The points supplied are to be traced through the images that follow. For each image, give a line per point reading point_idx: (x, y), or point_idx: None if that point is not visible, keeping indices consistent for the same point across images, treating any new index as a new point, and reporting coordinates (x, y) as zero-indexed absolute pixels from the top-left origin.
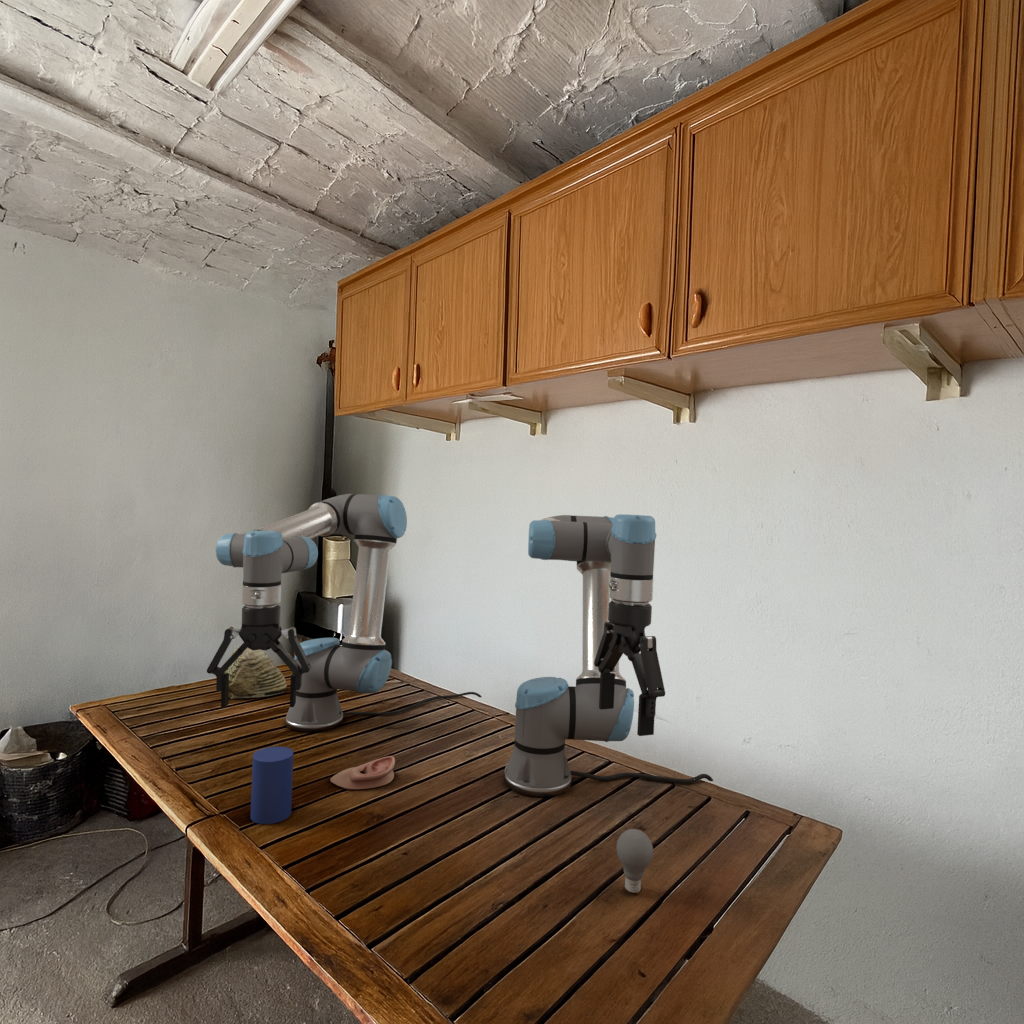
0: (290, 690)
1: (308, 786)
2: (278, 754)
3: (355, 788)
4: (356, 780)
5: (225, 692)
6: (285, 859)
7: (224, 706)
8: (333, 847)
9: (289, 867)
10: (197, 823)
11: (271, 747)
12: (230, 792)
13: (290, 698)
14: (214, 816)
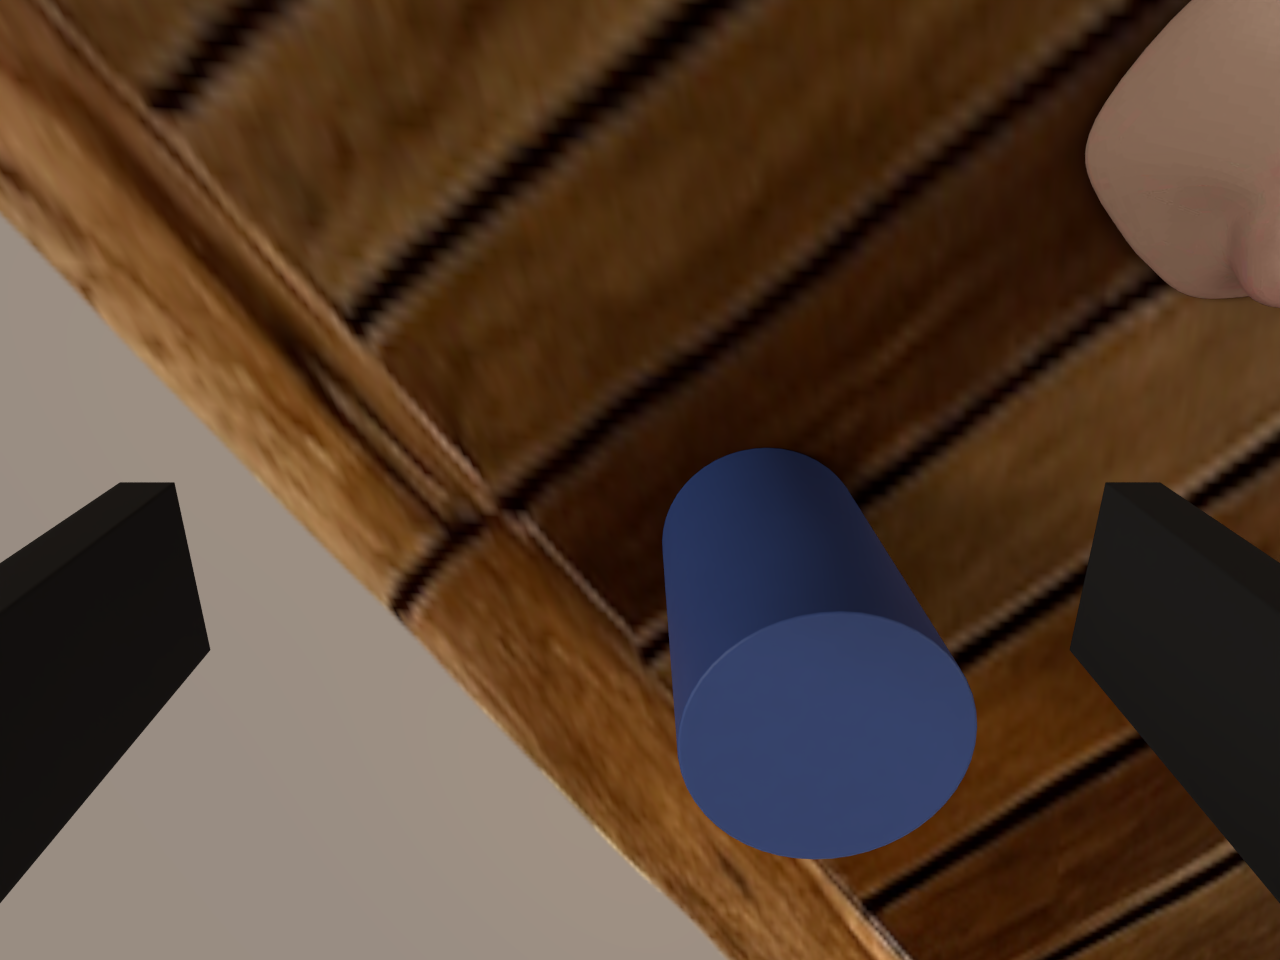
0: (1218, 821)
1: (938, 213)
2: (867, 758)
3: (1231, 297)
4: (1270, 306)
5: (77, 787)
6: (868, 865)
7: (194, 668)
8: (1052, 808)
9: (887, 907)
10: (428, 595)
11: (795, 632)
12: (474, 267)
13: (1142, 730)
14: (484, 537)
